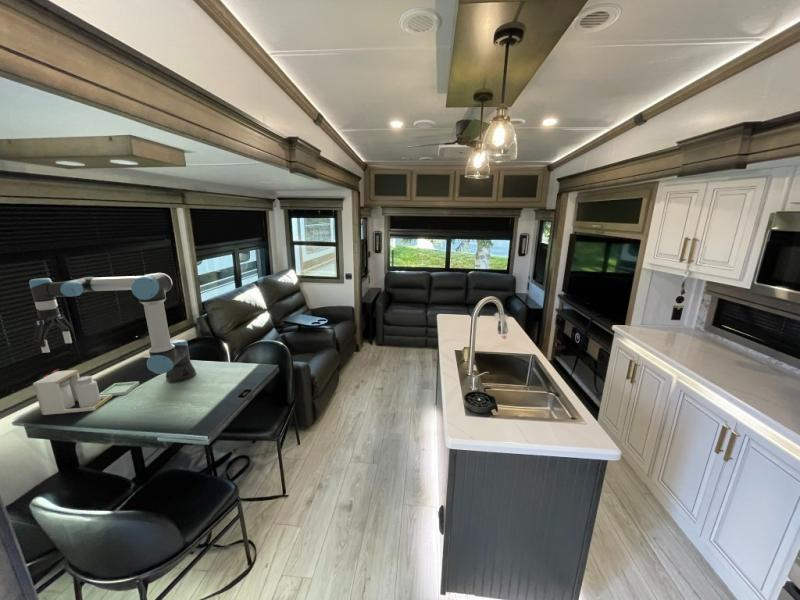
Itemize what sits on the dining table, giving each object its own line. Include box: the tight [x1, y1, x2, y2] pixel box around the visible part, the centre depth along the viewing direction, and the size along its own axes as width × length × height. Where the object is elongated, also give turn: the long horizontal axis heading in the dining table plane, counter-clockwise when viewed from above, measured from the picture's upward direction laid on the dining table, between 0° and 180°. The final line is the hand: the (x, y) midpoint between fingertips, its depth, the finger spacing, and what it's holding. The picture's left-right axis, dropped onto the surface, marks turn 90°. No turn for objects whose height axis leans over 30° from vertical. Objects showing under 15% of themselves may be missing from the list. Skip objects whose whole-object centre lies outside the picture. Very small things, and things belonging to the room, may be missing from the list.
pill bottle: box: [75, 375, 102, 408], centre depth 162 cm, size 8×8×15 cm
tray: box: [99, 380, 140, 397], centre depth 178 cm, size 12×12×2 cm
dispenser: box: [32, 369, 113, 416], centre depth 161 cm, size 22×13×17 cm, turn 100°
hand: (57, 347), depth 167 cm, fingers open, 13 cm apart
